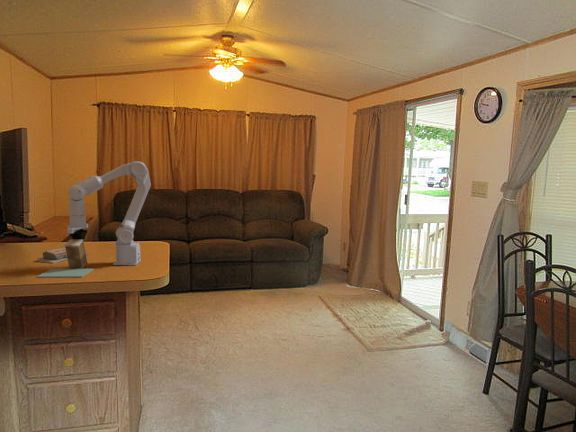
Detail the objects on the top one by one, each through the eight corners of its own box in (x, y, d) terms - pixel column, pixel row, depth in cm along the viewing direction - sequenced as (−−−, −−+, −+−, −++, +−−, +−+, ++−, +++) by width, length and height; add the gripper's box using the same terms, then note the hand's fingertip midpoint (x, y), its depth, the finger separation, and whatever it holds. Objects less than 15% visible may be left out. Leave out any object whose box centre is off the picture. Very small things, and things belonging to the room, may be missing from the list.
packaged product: (72, 244, 191) (87, 245, 187) (72, 254, 191) (88, 256, 188) (36, 251, 174) (52, 253, 171) (36, 262, 175) (53, 264, 171)
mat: (93, 269, 162) (93, 268, 162) (81, 277, 151) (81, 276, 151) (52, 269, 161) (51, 268, 161) (37, 277, 150) (37, 276, 150)
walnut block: (87, 263, 167) (83, 239, 163) (82, 269, 162) (78, 245, 158) (74, 263, 167) (70, 239, 162) (69, 269, 162) (64, 245, 158)
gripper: (75, 212, 170) (76, 244, 172) (58, 217, 156) (60, 251, 157) (92, 213, 171) (94, 244, 172) (77, 217, 156) (79, 252, 158)
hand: (79, 248), depth 165 cm, fingers closed
